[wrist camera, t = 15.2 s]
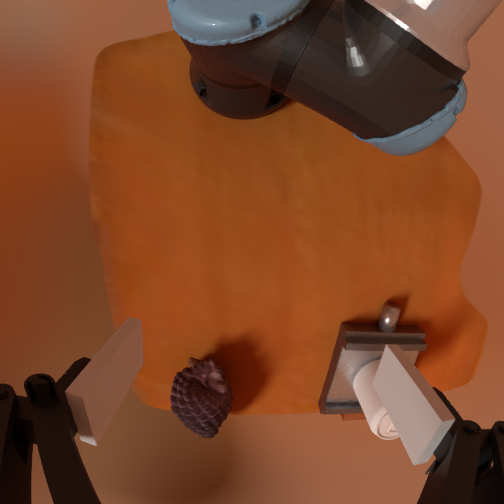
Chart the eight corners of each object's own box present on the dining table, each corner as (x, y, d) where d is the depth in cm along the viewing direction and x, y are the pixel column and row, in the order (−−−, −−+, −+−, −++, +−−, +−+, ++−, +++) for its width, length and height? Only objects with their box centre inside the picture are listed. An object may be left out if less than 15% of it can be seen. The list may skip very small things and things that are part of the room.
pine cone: (232, 420, 50) (229, 459, 40) (181, 415, 50) (170, 452, 40) (235, 343, 46) (231, 380, 36) (174, 337, 46) (157, 372, 36)
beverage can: (403, 359, 43) (434, 400, 32) (383, 396, 45) (407, 440, 34) (362, 354, 43) (389, 400, 31) (344, 393, 45) (363, 442, 33)
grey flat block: (346, 299, 44) (355, 310, 40) (424, 304, 45) (437, 315, 40) (315, 412, 49) (318, 428, 45) (384, 410, 50) (392, 424, 45)
